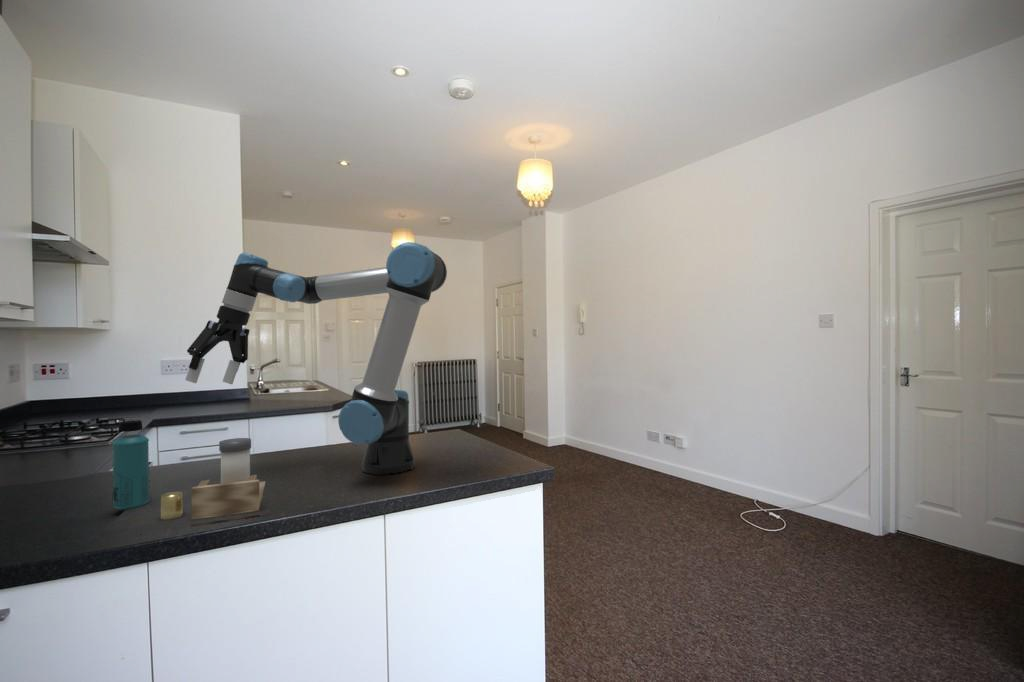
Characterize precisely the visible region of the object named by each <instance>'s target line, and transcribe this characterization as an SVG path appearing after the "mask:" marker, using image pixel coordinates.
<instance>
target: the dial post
mask: <svg viewBox="0 0 1024 682" xmlns="http://www.w3.org/2000/svg"><path fill="white" fill-rule="evenodd" d="M182 516H183V492H182V491H169V492H166V493H163V494H161V495H160V519H161V520H173V519H178V518H180V517H182Z"/></svg>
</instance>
